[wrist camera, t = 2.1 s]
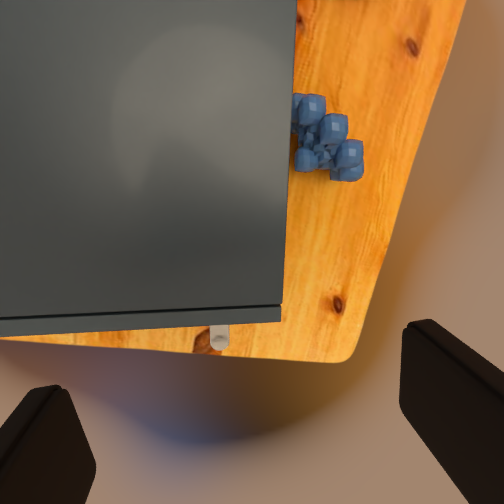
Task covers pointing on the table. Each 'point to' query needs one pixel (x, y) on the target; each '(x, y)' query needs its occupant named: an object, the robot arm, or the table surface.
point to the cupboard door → (144, 321)
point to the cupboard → (143, 153)
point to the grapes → (324, 140)
